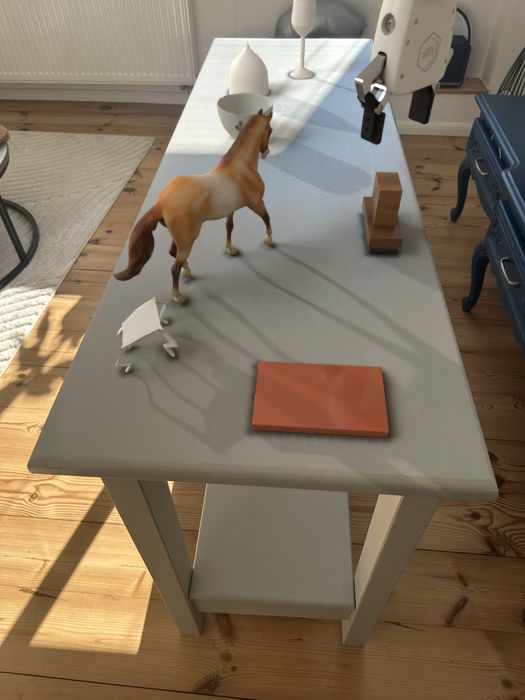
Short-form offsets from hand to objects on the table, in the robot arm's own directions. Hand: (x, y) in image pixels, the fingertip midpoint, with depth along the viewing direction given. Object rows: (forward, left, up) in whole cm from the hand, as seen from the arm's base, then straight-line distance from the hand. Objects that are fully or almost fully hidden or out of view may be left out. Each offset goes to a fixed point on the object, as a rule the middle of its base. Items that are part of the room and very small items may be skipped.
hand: (394, 130), depth 66 cm
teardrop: (-9, -76, -21) cm, 80 cm away
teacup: (+2, -51, -21) cm, 55 cm away
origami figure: (+39, +5, -21) cm, 45 cm away
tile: (+23, +24, -20) cm, 38 cm away
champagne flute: (-28, -82, -21) cm, 89 cm away
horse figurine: (+27, -9, -21) cm, 35 cm away
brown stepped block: (-4, -4, -20) cm, 21 cm away
